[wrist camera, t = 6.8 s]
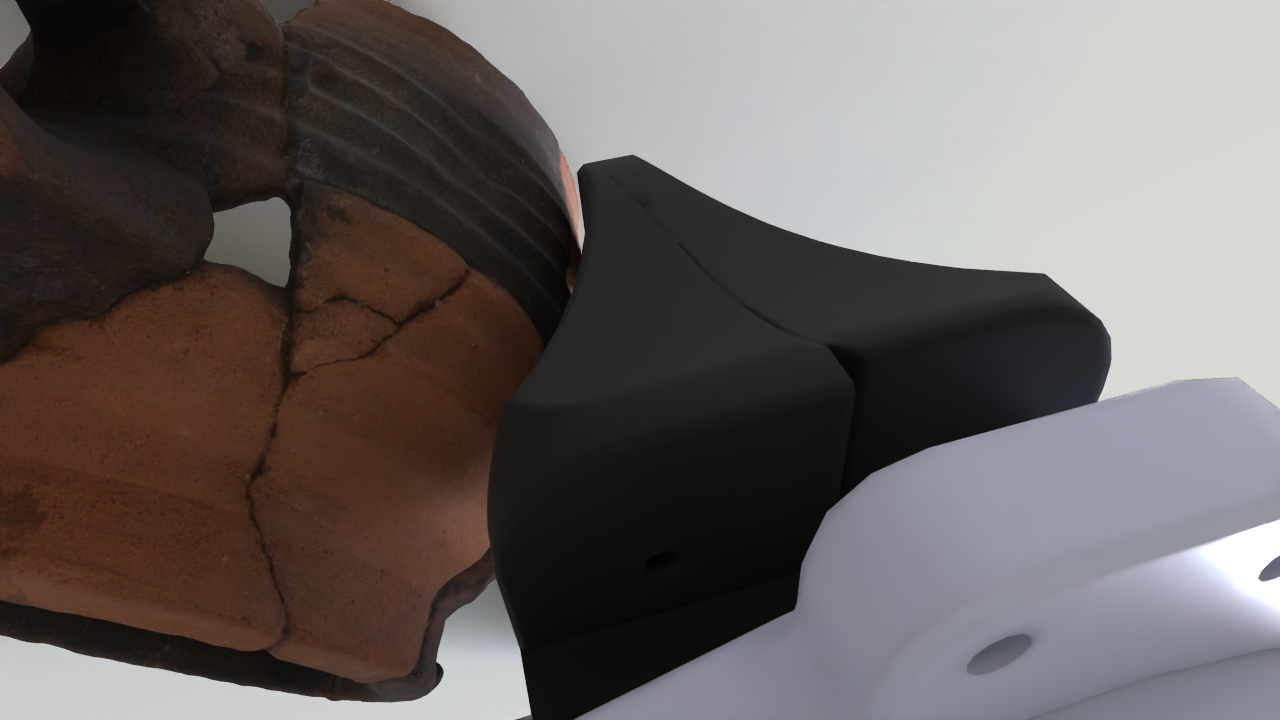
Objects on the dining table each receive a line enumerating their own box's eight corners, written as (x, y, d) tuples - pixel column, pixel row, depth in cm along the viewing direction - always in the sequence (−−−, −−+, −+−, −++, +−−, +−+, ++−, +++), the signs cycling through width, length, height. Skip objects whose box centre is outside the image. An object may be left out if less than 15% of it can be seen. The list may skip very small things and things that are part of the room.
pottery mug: (651, 318, 16) (578, 747, 12) (258, 300, 18) (79, 667, 14) (465, -518, 6) (-313, 313, 2) (-375, -369, 8) (-1670, 233, 4)
